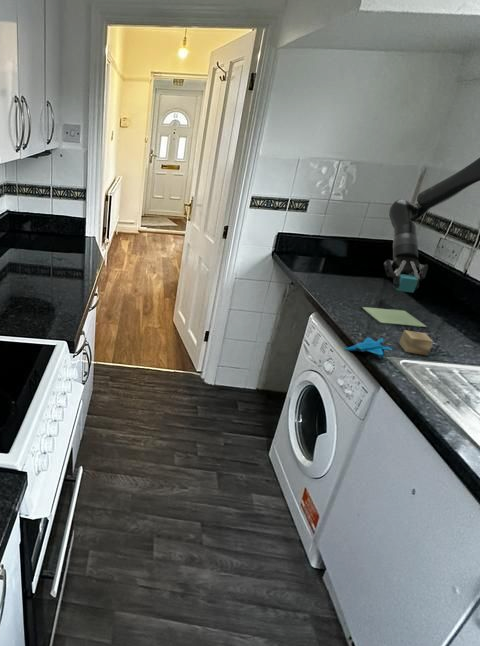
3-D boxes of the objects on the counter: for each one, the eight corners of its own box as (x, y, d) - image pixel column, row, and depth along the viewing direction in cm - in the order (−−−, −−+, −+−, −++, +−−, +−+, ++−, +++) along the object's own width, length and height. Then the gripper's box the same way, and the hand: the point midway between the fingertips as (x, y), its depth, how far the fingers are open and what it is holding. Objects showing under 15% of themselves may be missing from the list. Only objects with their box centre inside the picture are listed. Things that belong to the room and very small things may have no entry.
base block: (419, 346, 135) (425, 333, 133) (427, 355, 130) (433, 341, 128) (398, 343, 136) (404, 329, 134) (405, 352, 131) (411, 338, 129)
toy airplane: (367, 344, 134) (371, 332, 132) (397, 359, 126) (402, 347, 124) (342, 350, 130) (346, 338, 128) (372, 366, 122) (376, 354, 120)
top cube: (408, 288, 153) (412, 275, 151) (413, 292, 149) (418, 279, 147) (392, 286, 154) (397, 273, 152) (397, 290, 150) (402, 277, 148)
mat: (404, 311, 162) (404, 310, 162) (426, 327, 149) (426, 326, 149) (361, 307, 163) (362, 306, 163) (380, 323, 150) (380, 322, 150)
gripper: (388, 240, 154) (388, 281, 148) (432, 245, 150) (434, 287, 144) (379, 250, 160) (379, 289, 155) (421, 255, 157) (422, 295, 151)
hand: (406, 288), depth 150 cm, fingers closed on top cube, 5 cm apart
